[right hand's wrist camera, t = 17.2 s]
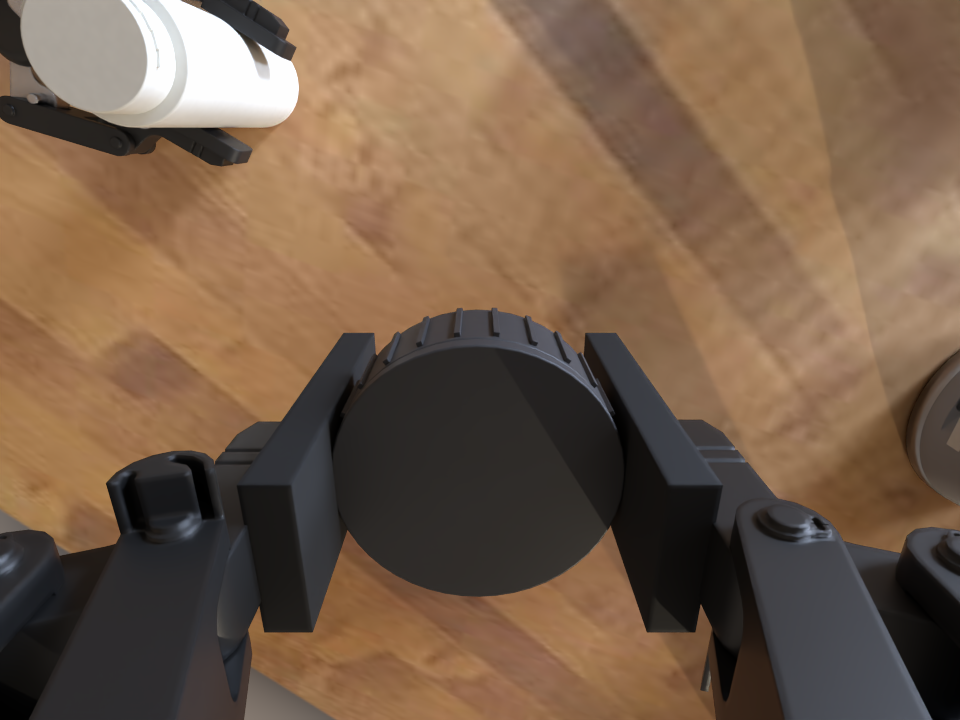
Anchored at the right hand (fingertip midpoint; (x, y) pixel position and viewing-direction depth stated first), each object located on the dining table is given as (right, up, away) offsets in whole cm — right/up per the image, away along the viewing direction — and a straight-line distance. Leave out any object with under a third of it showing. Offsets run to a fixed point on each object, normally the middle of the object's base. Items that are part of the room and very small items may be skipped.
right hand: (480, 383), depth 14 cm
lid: (0, -2, -4) cm, 4 cm away
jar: (-13, +17, +18) cm, 27 cm away
